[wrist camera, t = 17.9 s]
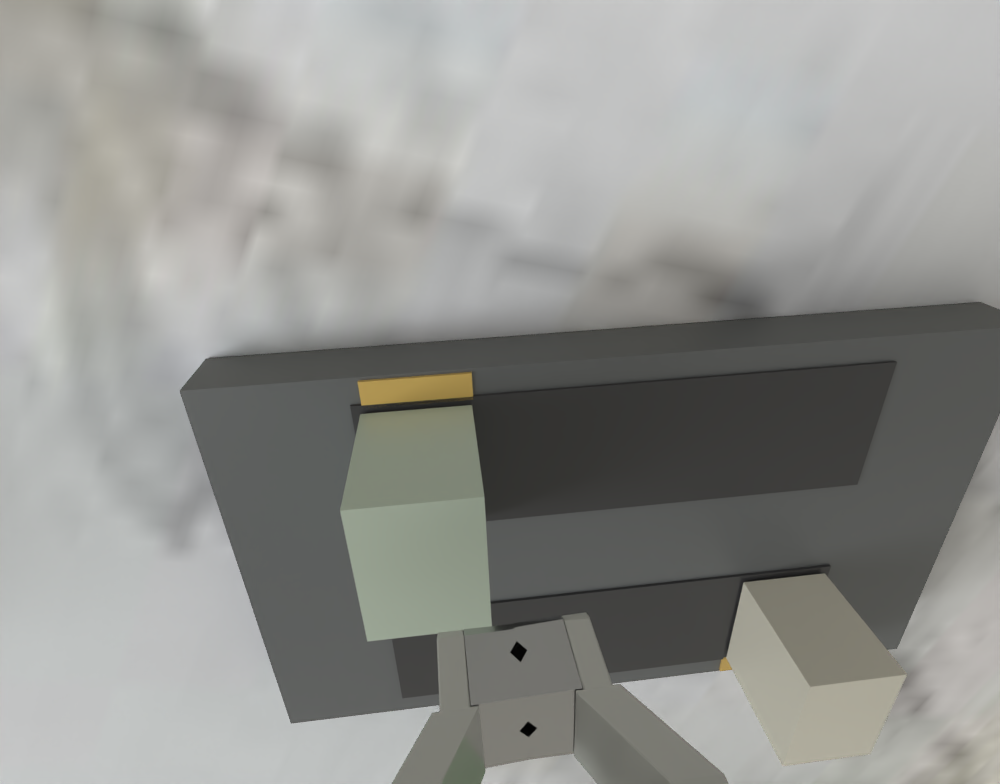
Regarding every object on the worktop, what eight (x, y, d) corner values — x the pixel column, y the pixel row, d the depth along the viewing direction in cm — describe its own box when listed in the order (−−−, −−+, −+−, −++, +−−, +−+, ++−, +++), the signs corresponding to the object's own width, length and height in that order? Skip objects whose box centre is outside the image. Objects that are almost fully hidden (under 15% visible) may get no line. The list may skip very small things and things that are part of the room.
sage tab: (379, 528, 17) (367, 641, 14) (360, 414, 15) (339, 510, 12) (479, 519, 18) (491, 627, 14) (472, 404, 16) (484, 497, 12)
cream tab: (726, 657, 22) (782, 766, 18) (743, 582, 20) (809, 686, 17) (800, 648, 22) (870, 754, 19) (824, 573, 20) (907, 674, 17)
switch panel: (301, 675, 23) (290, 726, 21) (205, 358, 16) (178, 392, 15) (864, 609, 25) (898, 650, 23) (980, 302, 18) (1041, 326, 17)
